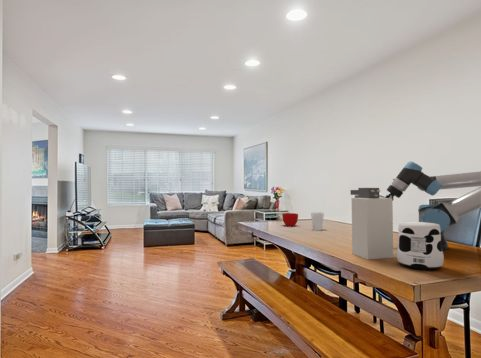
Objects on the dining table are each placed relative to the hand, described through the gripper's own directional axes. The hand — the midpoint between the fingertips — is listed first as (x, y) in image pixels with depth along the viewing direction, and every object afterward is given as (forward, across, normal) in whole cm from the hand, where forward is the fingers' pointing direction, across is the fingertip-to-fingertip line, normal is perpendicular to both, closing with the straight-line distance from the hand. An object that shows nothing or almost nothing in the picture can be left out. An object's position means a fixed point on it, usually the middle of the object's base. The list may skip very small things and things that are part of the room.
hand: (372, 219), depth 170 cm
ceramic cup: (+51, -68, -45) cm, 96 cm away
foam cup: (+36, -54, -24) cm, 69 cm away
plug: (-8, +16, -10) cm, 20 cm away
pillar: (+12, +20, +9) cm, 25 cm away
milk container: (+1, +33, +25) cm, 42 cm away
